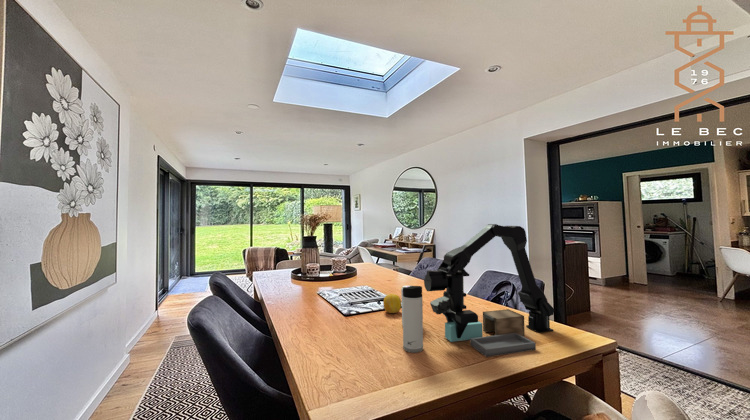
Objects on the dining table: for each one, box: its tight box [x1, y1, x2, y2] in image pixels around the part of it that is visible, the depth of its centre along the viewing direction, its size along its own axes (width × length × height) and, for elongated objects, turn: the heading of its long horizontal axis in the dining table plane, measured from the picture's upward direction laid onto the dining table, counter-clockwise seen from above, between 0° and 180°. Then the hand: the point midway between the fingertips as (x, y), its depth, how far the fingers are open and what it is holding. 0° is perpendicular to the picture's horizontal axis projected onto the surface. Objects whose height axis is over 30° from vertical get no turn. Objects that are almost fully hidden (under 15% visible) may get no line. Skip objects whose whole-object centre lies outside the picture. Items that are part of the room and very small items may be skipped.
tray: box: [469, 333, 537, 358], centre depth 95 cm, size 18×9×2 cm, turn 105°
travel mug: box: [402, 285, 424, 354], centre depth 95 cm, size 6×7×20 cm
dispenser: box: [482, 309, 526, 337], centre depth 107 cm, size 12×8×7 cm
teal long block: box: [444, 320, 484, 343], centre depth 103 cm, size 12×4×5 cm, turn 105°
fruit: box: [382, 293, 402, 314], centre depth 132 cm, size 9×8×8 cm
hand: (455, 335), depth 102 cm, fingers closed on teal long block, 4 cm apart
